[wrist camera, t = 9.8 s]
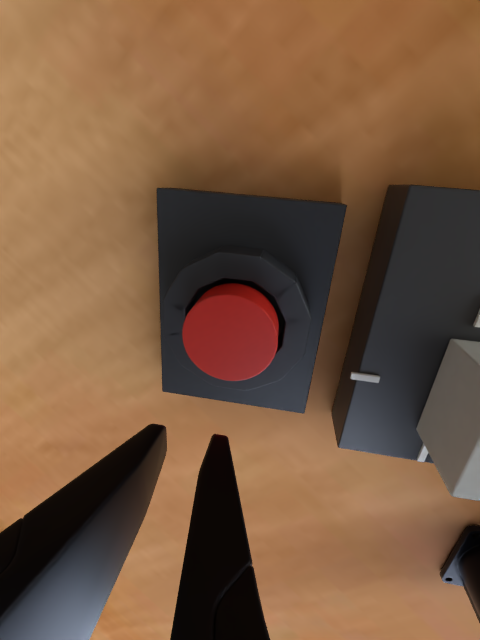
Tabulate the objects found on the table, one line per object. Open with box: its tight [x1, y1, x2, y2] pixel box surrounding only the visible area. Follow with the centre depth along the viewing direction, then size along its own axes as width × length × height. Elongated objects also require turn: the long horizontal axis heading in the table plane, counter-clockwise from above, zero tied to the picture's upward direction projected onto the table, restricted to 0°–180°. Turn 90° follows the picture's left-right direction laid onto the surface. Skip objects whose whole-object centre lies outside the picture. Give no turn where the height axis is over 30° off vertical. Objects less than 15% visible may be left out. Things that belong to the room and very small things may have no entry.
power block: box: [157, 188, 347, 413], centre depth 17 cm, size 12×9×4 cm
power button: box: [182, 283, 279, 381], centre depth 15 cm, size 4×4×2 cm
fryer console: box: [332, 185, 480, 463], centre depth 16 cm, size 14×10×3 cm
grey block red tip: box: [416, 339, 480, 501], centre depth 14 cm, size 6×2×4 cm, turn 176°
